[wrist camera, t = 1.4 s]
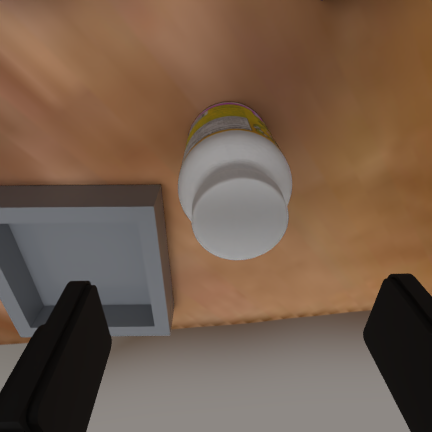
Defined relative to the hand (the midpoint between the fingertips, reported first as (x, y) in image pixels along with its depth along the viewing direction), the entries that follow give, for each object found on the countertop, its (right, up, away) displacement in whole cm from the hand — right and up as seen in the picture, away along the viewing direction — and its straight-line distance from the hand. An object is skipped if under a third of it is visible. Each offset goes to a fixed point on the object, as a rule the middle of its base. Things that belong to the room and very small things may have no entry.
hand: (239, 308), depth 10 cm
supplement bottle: (0, +10, +15) cm, 18 cm away
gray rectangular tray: (-14, -1, +21) cm, 25 cm away
